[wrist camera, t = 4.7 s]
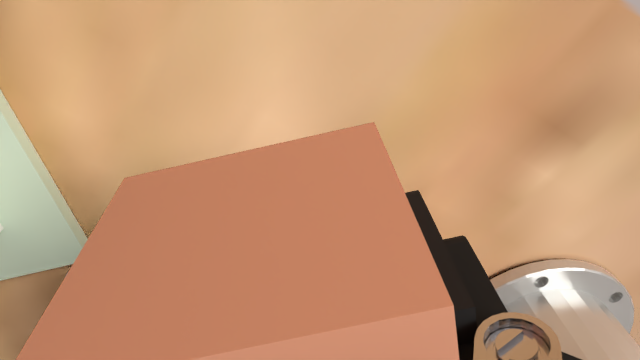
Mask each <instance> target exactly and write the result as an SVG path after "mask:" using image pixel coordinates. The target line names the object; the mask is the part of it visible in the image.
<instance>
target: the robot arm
mask: <svg viewBox="0 0 640 360" xmlns="http://www.w3.org/2000/svg"><path fill="white" fill-rule="evenodd" d="M405 194H406V197H407V199H408V201H409V204H410V206H411V208H412V211H413V213H414V215H415V217H416V220H417V222H418V224H419V227H420V229H421V231H422V234H423V236H424V238H425V240H426V243H427V245H428V247H429V250H430V252H431V254H432V257H433V259H434V261H435V264H436V266H437V268H438V270H439V273H440V275H441V277H442V280H443V282H444V284H445V287H446V289H447V291H448V293H449V296H450V298H451V300H452V303H453V305H454V313H455V322H456V332H457V341H458V351H459V360H640V346H639V345H638V344H637V343H636V341H635V340H634V339H633V338H632V337H631V335H630V331H631V328H632V325H633V322H634V306H633V302H632V298H631V296H630V294H629V293H628V291H627V290H626V288H625V287H624V286H623V285H622V284H621V283H620V281H619V280H618V279H617V278H616V277H615V276H614V275H613V274H612V273H610V272H609V271H607V270H606V269H604V268H602V267H601V266H598V265H595V264H592V263H589V262H586V261H580V260H572V259H555V260H545V261H540V262H535V263H529V264H526V265H523V266H520V267H517V268H514V269H511V270H509V271H507V272H504V273H502V274H500V275H498V276H496V277H494V278H492V279H491V280H490V279H489V277H488V276H487V274H486V272H485V270H484V269H483V267H482V265H481V263H480V261H479V260H478V258H477V256H476V254H475V253H474V251H473V249H472V247H471V245H470V244H469V242H468V240H467V239H466V237H465V236H458V237H453V238H449V239H444V240H443V239H442V237H441V235H440V233H439V231H438V229H437V227H436V225H435V223H434V221H433V219H432V217H431V214H430V212H429V210H428V208H427V206H426V204H425V202H424V200H423V198H422V196H421V194H420V192H419V191H418V190H417V191H412V192H407V193H405Z"/></svg>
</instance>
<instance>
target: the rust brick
mask: <svg viewBox="0 0 640 360" xmlns="http://www.w3.org/2000/svg"><path fill="white" fill-rule="evenodd" d="M16 360H459V351H458V341H457V332H456V322H455V313H454V305H453V303H452V300H451V298H450V296H449V293H448V291H447V289H446V287H445V284H444V282H443V280H442V277H441V275H440V273H439V270H438V268H437V266H436V264H435V261H434V259H433V257H432V254H431V252H430V250H429V247H428V245H427V243H426V240H425V238H424V236H423V234H422V231H421V229H420V227H419V224H418V222H417V220H416V217H415V215H414V213H413V211H412V208H411V206H410V204H409V201H408V199H407V197H406V194H405V192H404V190H403V188H402V185H401V183H400V181H399V178H398V176H397V174H396V171H395V169H394V167H393V164H392V162H391V160H390V158H389V155H388V153H387V151H386V148H385V146H384V144H383V141H382V139H381V137H380V135H379V132H378V130H377V128H376V125H375V123H374V122H372V123H368V124H363V125H359V126H354V127H350V128H345V129H341V130H336V131H332V132H328V133H323V134H319V135H314V136H310V137H305V138H301V139H296V140H292V141H287V142H283V143H278V144H274V145H269V146H265V147H261V148H256V149H252V150H247V151H243V152H238V153H234V154H229V155H225V156H220V157H216V158H211V159H207V160H202V161H198V162H194V163H189V164H185V165H180V166H176V167H171V168H167V169H162V170H158V171H153V172H149V173H144V174H140V175H136V176H131V177H127V178H124V180H123V181H122V183H121V185H120V186H119V188H118V190H117V191H116V193H115V195H114V196H113V198H112V200H111V201H110V203H109V205H108V206H107V208H106V210H105V211H104V213H103V215H102V216H101V218H100V220H99V221H98V223H97V225H96V226H95V228H94V230H93V231H92V233H91V235H90V236H89V238H88V240H87V241H86V243H85V245H84V247H83V248H82V250H81V252H80V253H79V255H78V257H77V258H76V260H75V262H74V263H73V265H72V267H71V268H70V270H69V272H68V273H67V275H66V277H65V278H64V280H63V282H62V283H61V285H60V287H59V288H58V290H57V292H56V293H55V295H54V297H53V298H52V300H51V302H50V303H49V305H48V307H47V308H46V310H45V312H44V313H43V315H42V317H41V318H40V320H39V322H38V323H37V325H36V327H35V328H34V330H33V332H32V333H31V335H30V337H29V338H28V340H27V342H26V343H25V345H24V347H23V348H22V350H21V352H20V353H19V355H18V357H17V358H16Z"/></svg>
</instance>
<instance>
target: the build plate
mask: <svg viewBox="0 0 640 360" xmlns="http://www.w3.org/2000/svg"><path fill="white" fill-rule="evenodd" d="M0 223H1V225H2V226H3V230H2V231H1V232H0V281H1V280H6V279H10V278H14V277H19V276H23V275H27V274H32V273H36V272H40V271H45V270H49V269H53V268H58V267H62V266H66V265H71V264H73V263H74V262H75V260H76V258H77V257H78V255H79V253H80V252H81V250H82V248H83V247H84V245H85V243H86V241H87V240H88V239H87V237H86V235H85V234H84V232H83V230H82V228H81V227H80V225H79V223H78V222H77V220H76V218H75V216H74V215H73V213H72V211H71V210H70V208H69V206H68V205H67V203H66V201H65V199H64V198H63V196H62V194H61V193H60V191H59V189H58V187H57V186H56V184H55V182H54V181H53V179H52V177H51V175H50V174H49V172H48V170H47V169H46V167H45V165H44V163H43V162H42V160H41V158H40V157H39V155H38V153H37V151H36V150H35V148H34V146H33V145H32V143H31V141H30V140H29V138H28V136H27V134H26V133H25V131H24V129H23V128H22V126H21V124H20V122H19V121H18V119H17V117H16V116H15V114H14V112H13V110H12V109H11V107H10V105H9V104H8V102H7V100H6V98H5V97H4V95H3V93H2V92H1V90H0Z"/></svg>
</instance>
